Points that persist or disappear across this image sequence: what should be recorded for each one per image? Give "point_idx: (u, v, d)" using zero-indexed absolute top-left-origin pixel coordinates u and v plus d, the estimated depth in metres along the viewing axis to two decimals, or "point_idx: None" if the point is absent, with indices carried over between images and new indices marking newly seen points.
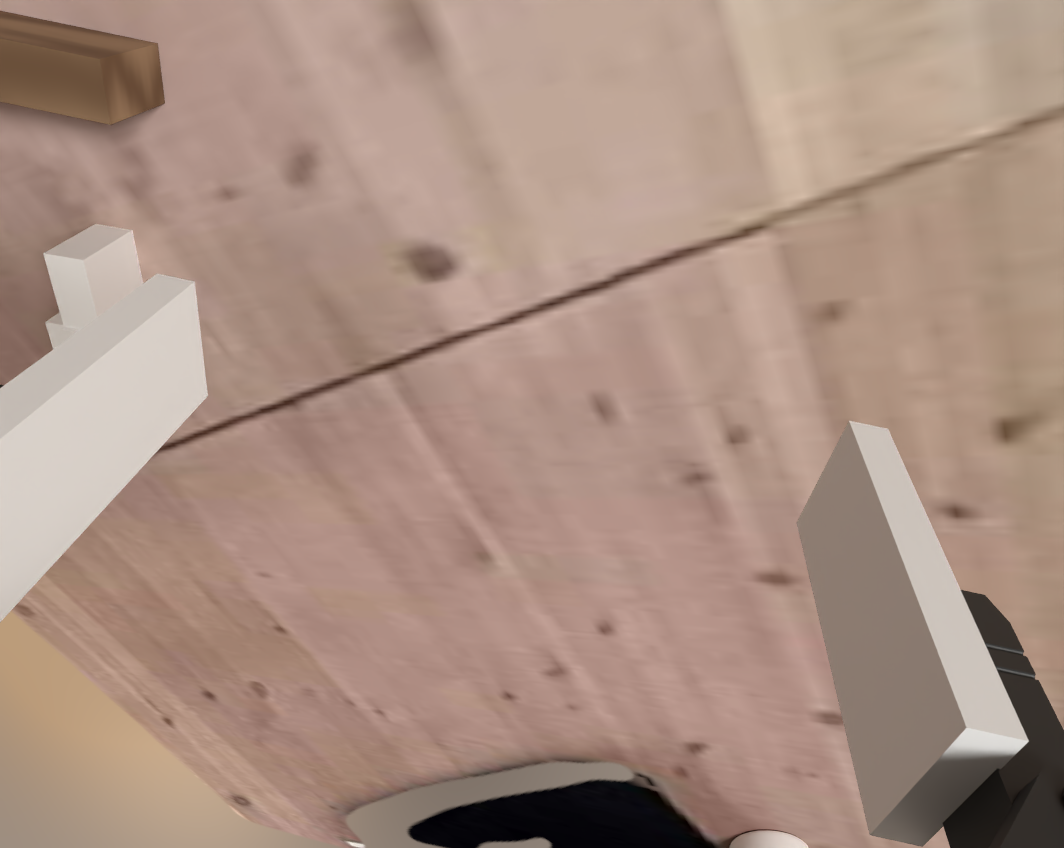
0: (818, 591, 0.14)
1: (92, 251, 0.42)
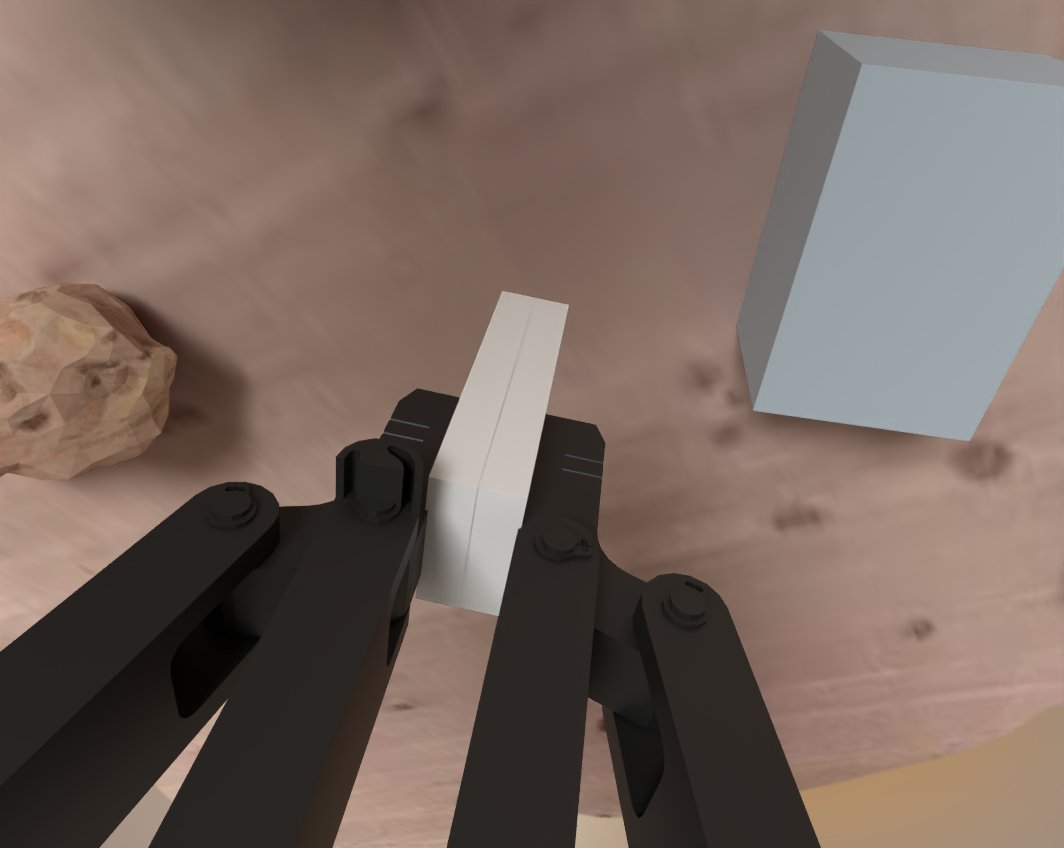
0: None
1: None
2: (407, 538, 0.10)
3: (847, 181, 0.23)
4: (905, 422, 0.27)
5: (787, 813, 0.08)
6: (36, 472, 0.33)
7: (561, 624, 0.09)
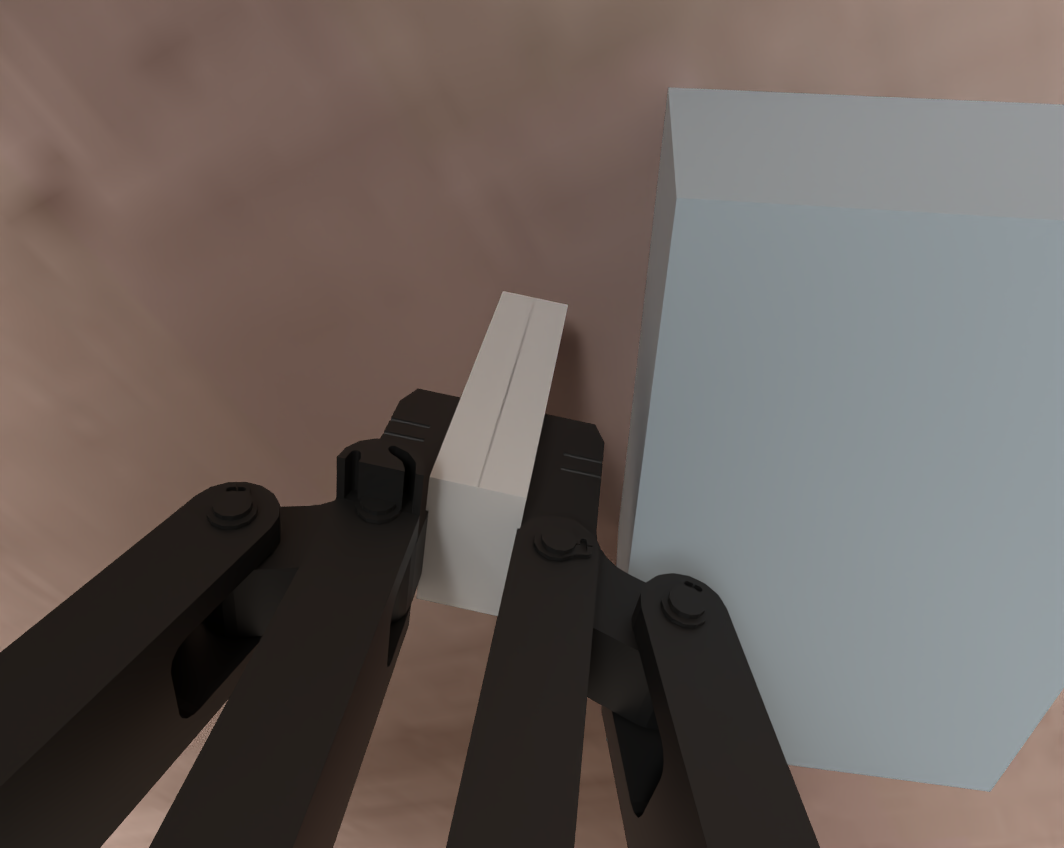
0: None
1: None
2: (408, 538, 0.10)
3: (692, 416, 0.11)
4: (871, 763, 0.15)
5: (785, 813, 0.08)
6: None
7: (560, 624, 0.09)
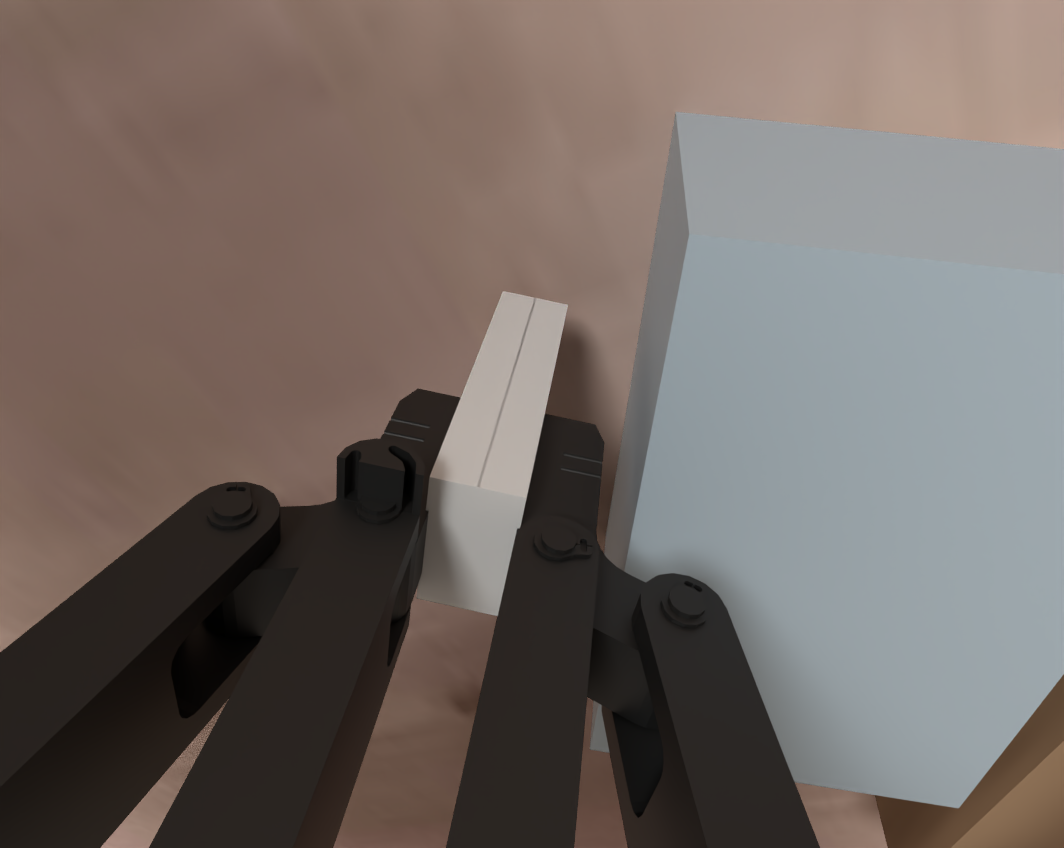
0: None
1: None
2: (408, 538, 0.10)
3: (692, 441, 0.11)
4: (846, 778, 0.16)
5: (785, 812, 0.08)
6: None
7: (560, 624, 0.09)
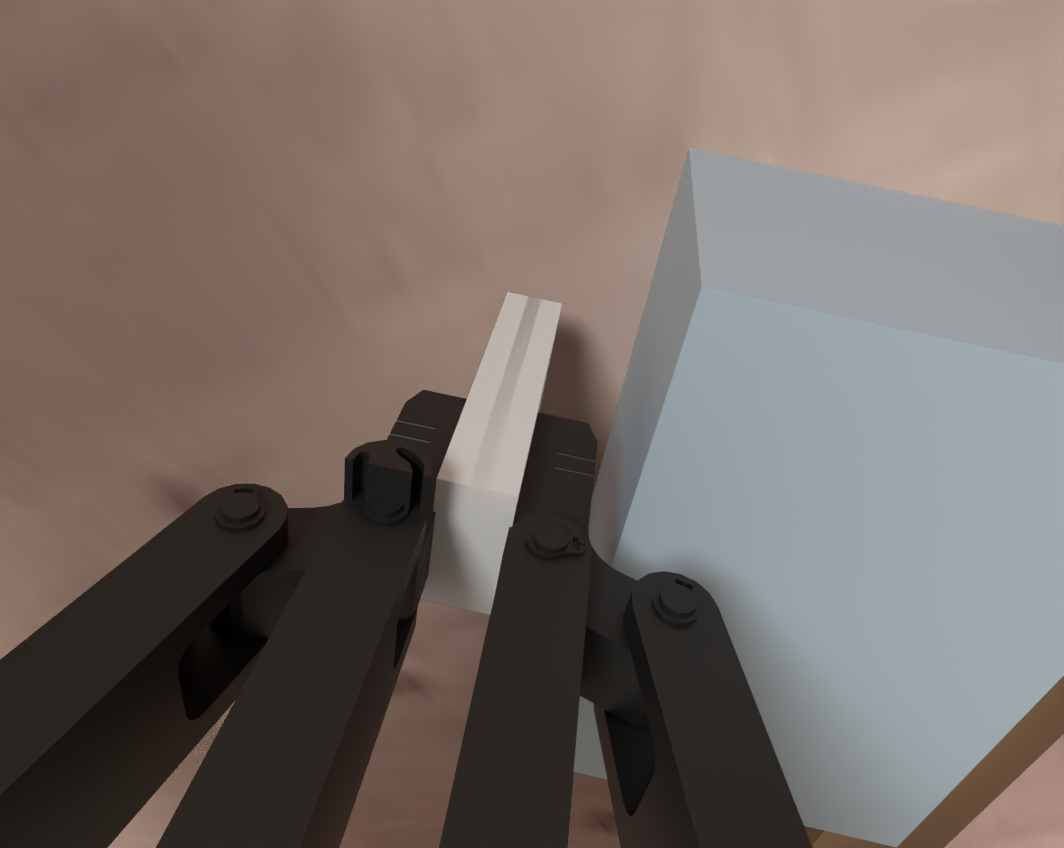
0: None
1: None
2: (415, 540, 0.10)
3: (681, 483, 0.12)
4: None
5: (777, 810, 0.08)
6: None
7: (553, 622, 0.09)
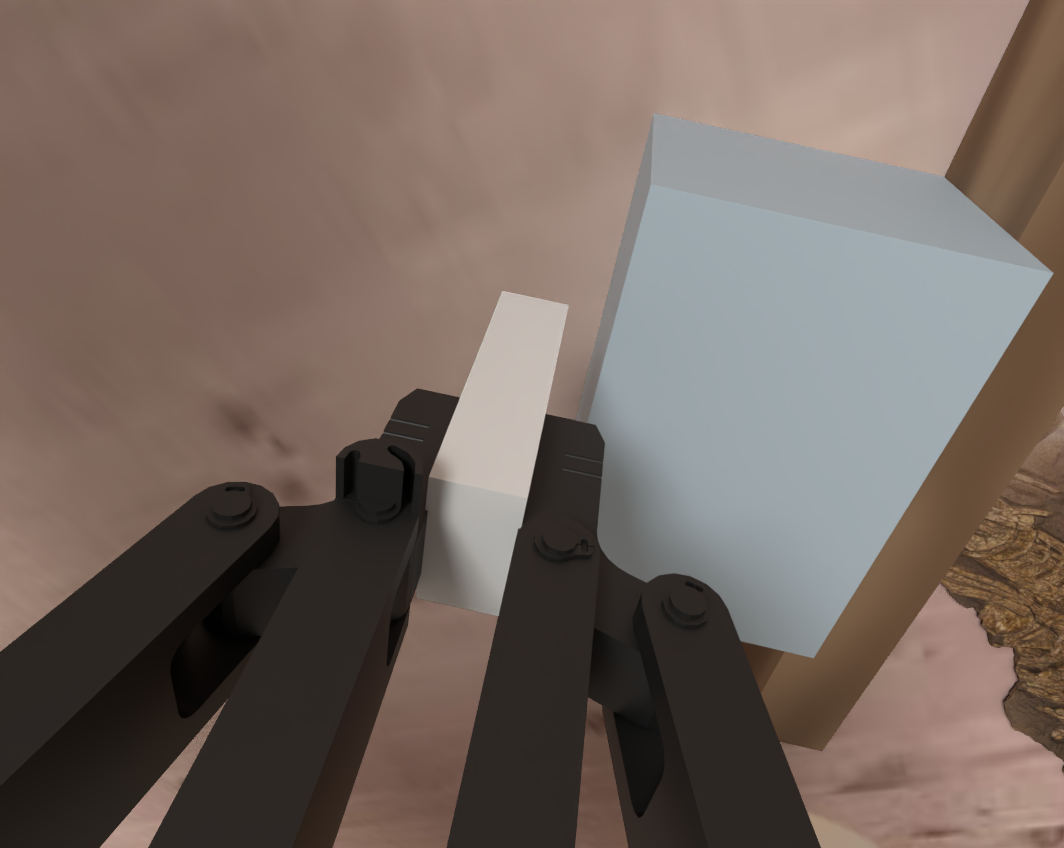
0: None
1: None
2: (407, 538, 0.10)
3: (640, 335, 0.16)
4: None
5: (787, 814, 0.08)
6: None
7: (561, 624, 0.09)
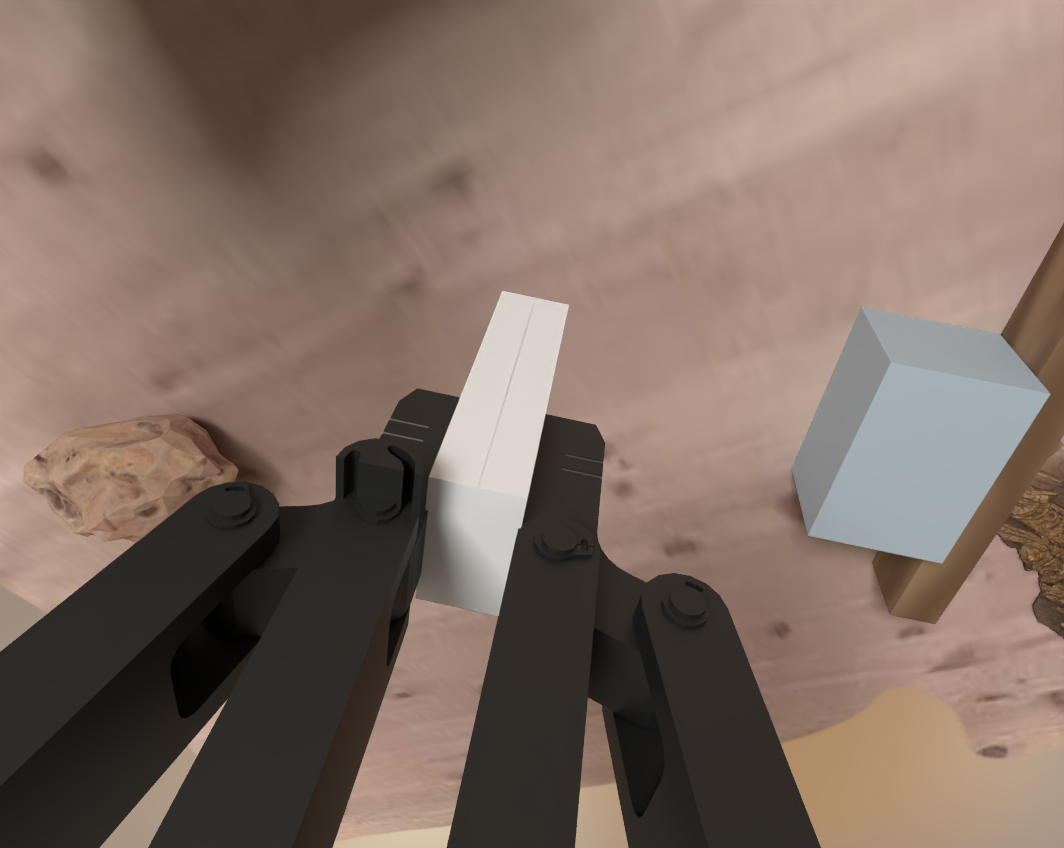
0: None
1: None
2: (407, 538, 0.10)
3: (877, 417, 0.39)
4: (903, 549, 0.44)
5: (787, 813, 0.08)
6: None
7: (561, 624, 0.09)
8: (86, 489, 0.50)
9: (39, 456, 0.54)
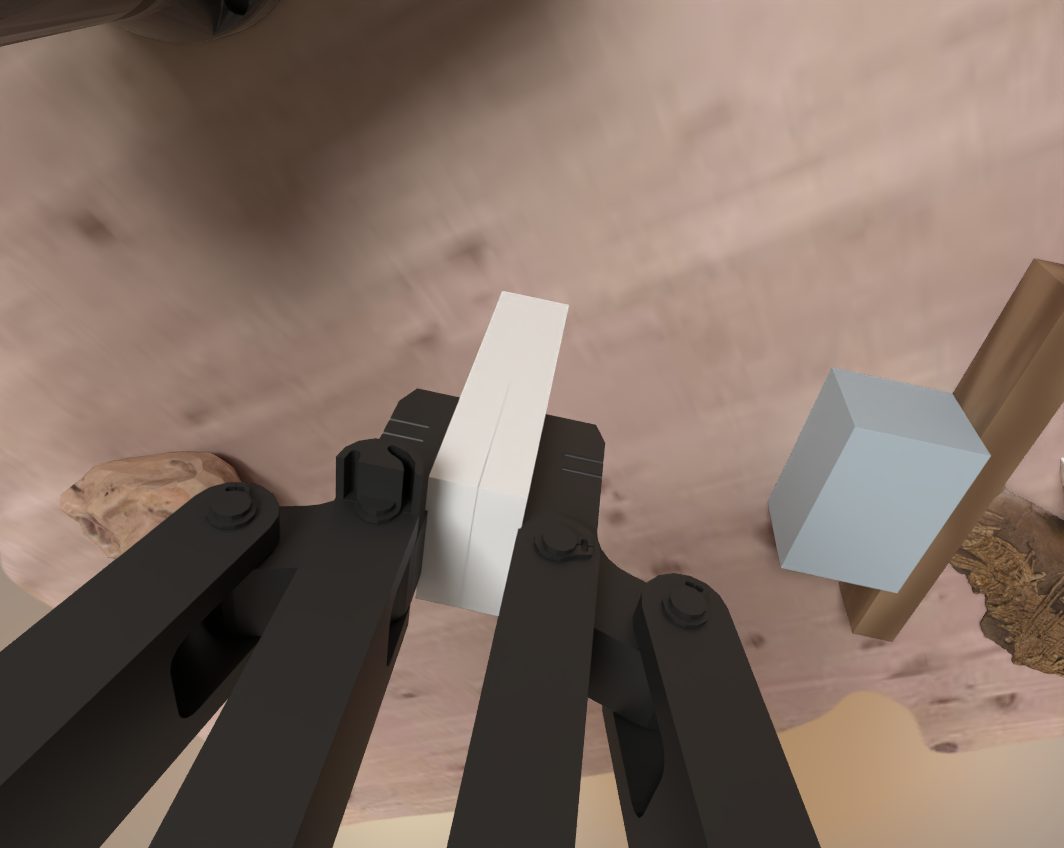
0: None
1: None
2: (407, 538, 0.10)
3: (843, 471, 0.45)
4: (863, 581, 0.50)
5: (787, 814, 0.08)
6: None
7: (561, 624, 0.09)
8: (124, 522, 0.55)
9: (75, 486, 0.59)
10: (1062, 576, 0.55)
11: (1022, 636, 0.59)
